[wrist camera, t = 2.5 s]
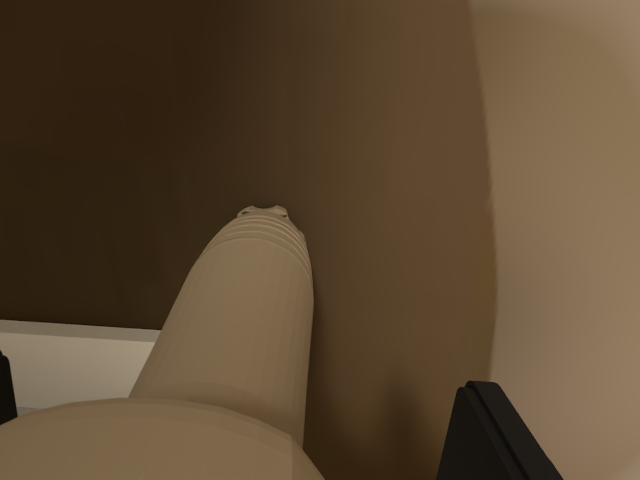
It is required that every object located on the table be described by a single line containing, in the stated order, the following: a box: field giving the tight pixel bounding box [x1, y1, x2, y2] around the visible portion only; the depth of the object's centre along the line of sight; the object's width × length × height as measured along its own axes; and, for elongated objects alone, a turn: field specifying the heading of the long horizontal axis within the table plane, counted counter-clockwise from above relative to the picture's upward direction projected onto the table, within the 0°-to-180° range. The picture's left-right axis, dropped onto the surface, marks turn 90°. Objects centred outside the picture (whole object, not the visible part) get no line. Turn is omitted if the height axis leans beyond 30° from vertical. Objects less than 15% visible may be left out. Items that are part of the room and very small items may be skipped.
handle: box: [0, 205, 325, 480], centre depth 11 cm, size 5×6×15 cm
